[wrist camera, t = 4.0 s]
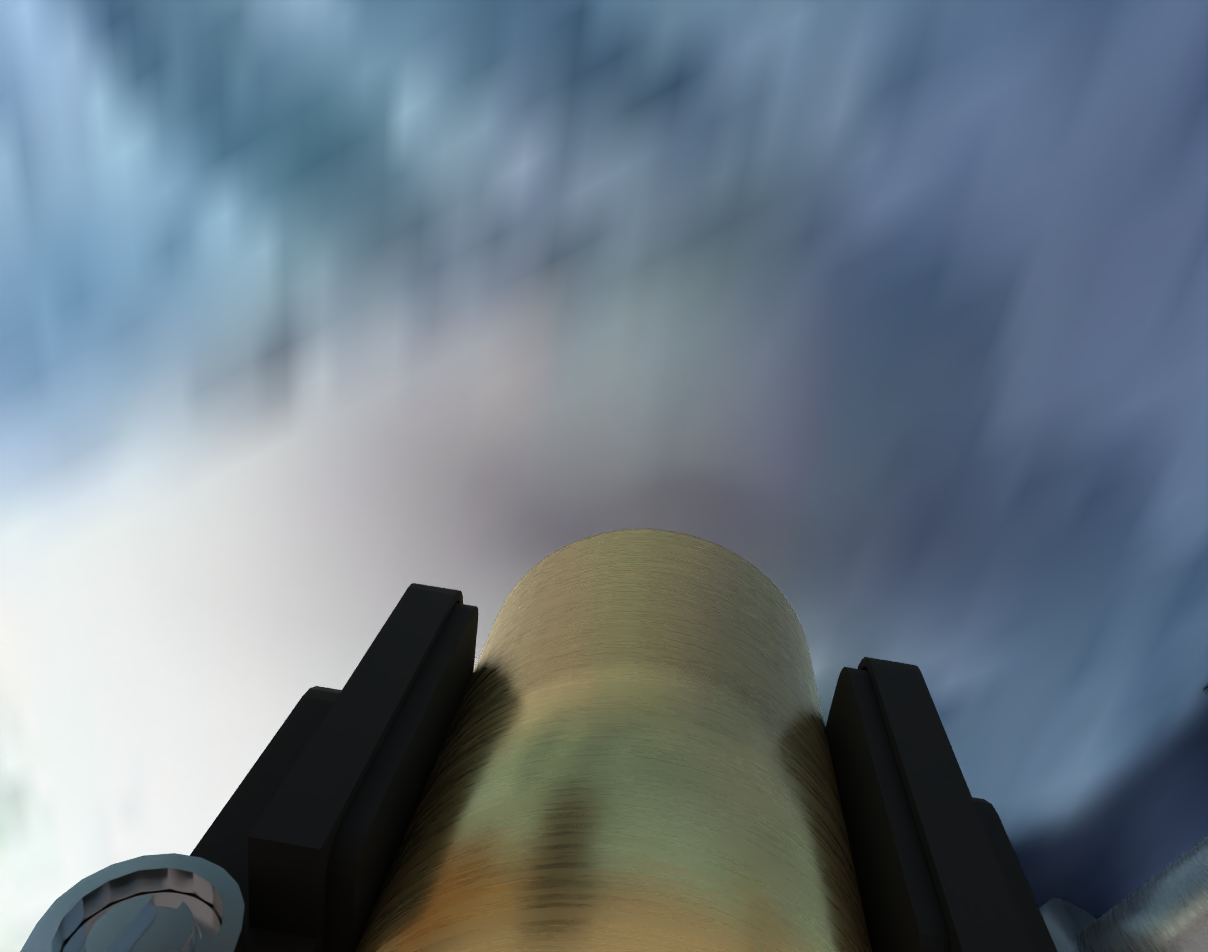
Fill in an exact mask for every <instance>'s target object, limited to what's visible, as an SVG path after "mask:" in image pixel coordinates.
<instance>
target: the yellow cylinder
mask: <svg viewBox="0 0 1208 952" xmlns="http://www.w3.org/2000/svg"><path fill="white" fill-rule="evenodd" d="M355 952H872V950H871V945H870V941H869V936H868V931H867V926H866V921H865V917H864V912H863V907H862V902H861V898H860V893H859V888H858V883H857V878H856V874H855V869H854V864H853V859H852V854H851V850H850V845H849V840H848V835H847V830H846V826H845V821H844V816H843V811H842V806H841V802H840V797H839V792H838V787H837V783H836V778H835V773H834V768H833V763H832V759H831V754H830V749H829V744H828V739H827V735H826V730H825V725H824V720H823V715H822V711H821V706H820V701H819V696H818V691H817V687H816V682H815V677H814V672H813V668H812V663H811V658H810V653H809V648H808V645H807V642H806V639H805V635H804V632H803V629H802V627H801V625H800V623H799V621H798V619H797V617H796V614H795V612H794V611H793V609H792V608H791V606H790V605H789V603H788V602H787V600H786V599H785V597H784V596H783V594H782V593H781V592H780V591H779V590H778V589H777V588H776V587H775V585H774V584H773V583H772V582H771V581H770V580H769V579H768V578H767V577H766V576H765V575H763V574H762V573H761V572H760V571H759V570H758V569H757V568H755V567H754V566H753V565H751V564H750V563H748V562H747V561H745V560H744V559H742V558H741V557H739V556H738V555H736V554H735V553H733V552H731V551H729V550H727V549H725V548H723V547H721V546H719V545H717V544H715V543H712V542H709V541H706V540H703V539H700V538H697V537H695V536H691V535H686V534H681V533H677V532H672V531H663V530H653V529H634V530H621V531H614V532H607V533H603V534H599V535H595V536H592V537H588V538H584V539H582V540H579V541H577V542H575V543H572V544H570V545H567V546H565V547H563V548H561V549H560V550H558V551H556V552H555V553H553V554H551V555H549V556H548V557H546V558H545V559H544V560H542V561H541V562H540V563H538V564H537V565H536V566H535V567H533V568H532V569H531V570H530V571H529V572H528V573H527V574H526V575H525V576H524V577H523V578H522V579H521V580H520V581H519V582H518V583H517V584H516V586H515V587H514V589H513V590H512V591H511V593H510V594H509V596H508V597H507V598H506V600H505V602H504V604H503V606H502V608H501V610H500V612H499V614H498V616H497V618H496V620H495V623H494V625H493V627H492V630H491V632H490V634H489V637H488V639H487V641H486V644H485V646H484V648H483V651H482V653H481V656H480V658H479V660H478V663H477V665H476V667H475V670H474V672H473V674H472V677H471V679H470V681H469V684H468V686H467V689H466V691H465V693H464V696H463V698H462V700H461V703H460V705H459V707H458V710H457V712H456V714H455V717H454V719H453V721H452V724H451V726H450V729H449V731H448V733H447V736H446V738H445V740H444V743H443V745H442V747H441V750H440V752H439V754H438V757H437V759H436V762H435V764H434V766H433V769H432V771H431V773H430V776H429V778H428V780H427V783H426V785H425V787H424V790H423V792H422V795H421V797H420V799H419V802H418V804H417V806H416V809H415V811H414V813H413V816H412V818H411V820H410V823H409V825H408V827H407V830H406V832H405V835H404V837H403V839H402V842H401V844H400V846H399V849H398V851H397V853H396V856H395V858H394V860H393V863H392V865H391V868H390V870H389V872H388V875H387V877H386V879H385V882H384V884H383V886H382V889H381V891H380V893H379V896H378V898H377V900H376V903H375V905H374V908H373V910H372V912H371V915H370V917H369V919H368V922H367V924H366V926H365V929H364V931H363V933H362V936H361V938H360V941H359V943H358V945H357V948H356V950H355Z"/></svg>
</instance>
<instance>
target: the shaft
mask: <svg viewBox="0 0 1208 952" xmlns="http://www.w3.org/2000/svg"><path fill="white" fill-rule="evenodd" d="M1204 692H1205V693H1206V694H1207V695H1208V688H1207V689H1205V690H1204ZM1039 910H1040V912H1041V914H1042V917H1043V919H1044V921H1045V924H1046V926H1047V928H1048V931H1049V933H1050V935H1051V937H1052V940H1053V942H1054V944H1055V947H1056V949H1057V951H1058V952H1208V835H1207V836H1206V837H1205V838H1203V839H1202V840H1201V841H1199V842H1198V843H1197V844H1195V845H1194V846H1193V847H1192V848H1190V849H1189V850H1188V851H1186V852H1185V853H1184V854H1182V855H1181V856H1180V857H1178V858H1177V859H1176V860H1174V861H1173V862H1172V863H1170V864H1169V865H1168V866H1167V867H1165V868H1164V869H1163V870H1161V871H1160V872H1159V873H1157V874H1156V875H1155V876H1153V877H1152V878H1151V879H1149V880H1148V881H1147V882H1145V883H1144V884H1143V885H1142V886H1140V887H1139V888H1138V889H1136V890H1135V891H1134V892H1132V893H1131V894H1130V895H1128V896H1127V897H1126V898H1124V899H1123V900H1122V901H1120V902H1119V903H1118V904H1117V905H1115V906H1114V907H1113V908H1111V909H1110V910H1109V911H1107V912H1106V913H1105V914H1103V915H1102V916H1101V917H1099V918H1098V919H1096V918H1094V917H1093V916H1092V915H1090V914H1089V913H1088V912H1086V911H1085V910H1083V909H1082V908H1080V907H1078V906H1077V905H1075V904H1073V903H1071V902H1069V901H1067V900H1064V899H1060V898H1053V899H1050V900H1049V901H1047V902H1046V903H1045V904H1044V905H1042V906H1041V907H1040V908H1039Z"/></svg>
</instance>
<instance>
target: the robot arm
mask: <svg viewBox="0 0 1208 952" xmlns="http://www.w3.org/2000/svg"><path fill="white" fill-rule="evenodd" d="M477 624H478V608H477V607H476V606H470V605H464V604H463V596H462V592H461V591H458V590H452V589H446V588H440V587H434V586H427V585H421V584H415V583H412V584H411V585H410V586H409V587H408V589H407V590H406V592H405V593H404V595H403V596H402V598H401V600H400V601H399V603H398V604H397V606H396V607H395V609H394V610H393V612H392V614H391V615H390V617H389V618H388V620H387V621H386V623H385V624H384V626H383V627H382V629H381V631H380V632H379V634H378V635H377V637H376V638H375V640H374V641H373V643H372V644H371V646H370V648H369V649H368V651H367V652H366V654H365V655H364V657H363V658H362V660H361V662H360V663H359V665H358V666H357V668H356V669H355V671H354V672H353V674H352V675H351V677H350V679H349V680H348V682H347V683H346V685H345V686H344V688H343V689H342V690H337V689H331V688H325V687H319V686H315V687H312V688H310V689H309V690H308V691H307V692H306V693H305V694H304V695H303V696H302V698H301V699H300V701H299V702H298V704H297V705H296V706H295V708H294V709H293V711H292V712H291V713H290V715H289V716H288V718H287V719H286V720H285V722H284V723H283V725H282V726H281V728H280V729H279V730H278V732H277V733H276V735H275V736H274V737H273V739H272V740H271V742H270V743H269V744H268V746H267V747H266V749H265V750H264V752H263V753H262V754H261V756H260V757H259V759H258V760H257V761H256V763H255V764H254V766H253V767H252V768H251V770H250V771H249V773H248V774H247V776H246V777H245V778H244V780H243V781H242V783H241V784H240V785H239V787H238V788H237V790H236V791H235V792H234V794H233V795H232V797H231V798H230V800H229V801H228V802H227V804H226V805H225V807H224V808H223V809H222V811H221V812H220V814H219V815H218V816H217V818H216V819H215V821H214V822H213V824H212V825H211V826H210V828H209V829H208V831H207V832H206V833H205V835H204V836H203V838H202V839H201V840H200V842H199V843H198V845H197V846H196V848H195V849H194V850H193V852H192V853H191V855H190V856H188V855H181V854H175V853H173V854H160V855H147V856H141V857H137V858H134V859H130V860H127V861H123V862H120V863H116V864H113V865H110V866H108V867H106V868H104V869H102V870H100V871H98V872H96V873H94V874H92V875H90V876H88V877H86V878H84V879H82V880H81V881H80V882H78V883H77V884H76V885H74V886H73V887H72V888H71V889H69V890H68V891H67V892H65V893H64V894H63V895H62V896H60V897H59V898H58V899H56V900H55V902H54V903H53V904H52V905H51V907H50V908H49V909H48V910H47V912H46V913H45V914H44V915H43V917H42V918H41V919H40V920H39V922H38V923H37V924H36V926H35V928H34V929H33V931H32V933H31V934H30V936H29V938H28V939H27V941H26V943H25V945H24V946H23V948H22V950H21V951H20V952H355V950H356V948H357V945H358V943H359V941H360V938H361V936H362V933H363V931H364V929H365V926H366V924H367V922H368V919H369V917H370V915H371V912H372V910H373V908H374V905H375V903H376V900H377V898H378V896H379V893H380V891H381V889H382V886H383V884H384V882H385V879H386V877H387V875H388V872H389V870H390V868H391V865H392V863H393V860H394V858H395V856H396V853H397V851H398V849H399V846H400V844H401V842H402V839H403V837H404V835H405V832H406V830H407V827H408V825H409V823H410V820H411V818H412V816H413V813H414V811H415V809H416V806H417V804H418V802H419V799H420V797H421V795H422V792H423V790H424V787H425V785H426V783H427V780H428V778H429V776H430V773H431V771H432V769H433V766H434V764H435V762H436V759H437V757H438V754H439V752H440V750H441V747H442V745H443V743H444V740H445V738H446V736H447V733H448V731H449V729H450V726H451V724H452V721H453V719H454V717H455V714H456V712H457V710H458V707H459V705H460V703H461V700H462V698H463V696H464V693H465V691H466V689H467V686H468V684H469V681H470V679H471V677H472V674H473V669H474V658H475V647H476V635H477ZM825 730H826V735H827V739H828V744H829V749H830V754H831V759H832V763H833V768H834V773H835V778H836V783H837V787H838V792H839V797H840V802H841V806H842V811H843V816H844V821H845V826H846V830H847V835H848V840H849V845H850V850H851V854H852V859H853V864H854V869H855V874H856V878H857V883H858V888H859V893H860V898H861V902H862V907H863V912H864V917H865V921H866V926H867V931H868V936H869V941H870V945H871V950H872V952H1058V951H1057V949H1056V947H1055V944H1054V942H1053V940H1052V937H1051V935H1050V933H1049V931H1048V928H1047V926H1046V924H1045V921H1044V919H1043V917H1042V914H1041V912H1040V910H1039V908H1038V905H1037V903H1036V901H1035V898H1034V896H1033V894H1032V891H1031V889H1030V887H1029V885H1028V882H1027V880H1026V878H1025V875H1024V873H1023V871H1022V868H1021V866H1020V864H1019V862H1018V859H1017V857H1016V855H1015V852H1014V850H1013V848H1012V845H1011V843H1010V841H1009V839H1008V836H1007V834H1006V832H1005V829H1004V827H1003V825H1002V822H1001V820H1000V818H999V816H998V814H997V812H996V811H995V809H994V807H993V806H992V804H991V803H989V802H987V801H986V800H984V799H979V798H973V797H972V796H971V794H970V791H969V789H968V787H967V784H966V782H965V779H964V777H963V774H962V772H961V769H960V767H959V764H958V762H957V759H956V757H955V755H954V752H953V750H952V747H951V745H950V742H949V740H948V737H947V735H946V732H945V730H944V727H943V725H942V723H941V720H940V718H939V715H938V713H937V710H936V708H935V705H934V703H933V700H932V698H931V696H930V693H929V691H928V688H927V686H926V683H925V681H924V678H923V676H922V673H921V671H920V669H919V668H918V666H915V665H911V664H905V663H898V662H892V661H886V660H880V659H874V658H868V657H865V658H863V659H862V660H861V662H860V664H859V666H858V669H854V668H848V667H844V668H843V669H842V671H841V673H840V675H839V678H838V682H837V686H836V690H835V693H834V697H833V701H832V705H831V709H830V713H829V717H828V720H827V724H826V728H825Z"/></svg>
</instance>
